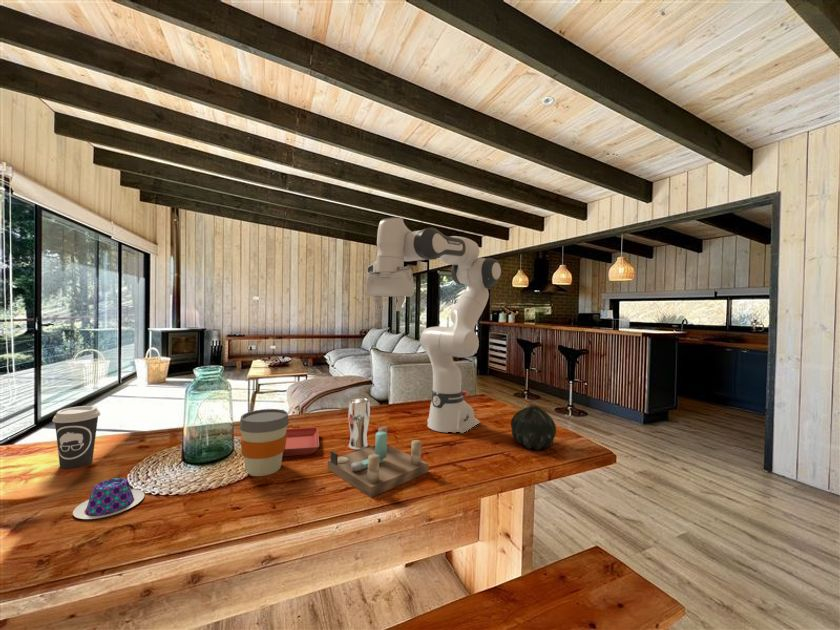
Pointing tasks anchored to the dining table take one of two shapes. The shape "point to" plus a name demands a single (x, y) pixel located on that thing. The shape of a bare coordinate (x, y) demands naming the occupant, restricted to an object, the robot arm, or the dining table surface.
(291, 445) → the plant saucer
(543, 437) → the squash
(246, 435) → the reusable coffee cup
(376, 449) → the folding leg
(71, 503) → the dining table surface
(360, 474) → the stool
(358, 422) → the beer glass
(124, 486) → the purple patterned hat
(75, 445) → the coffee cup
